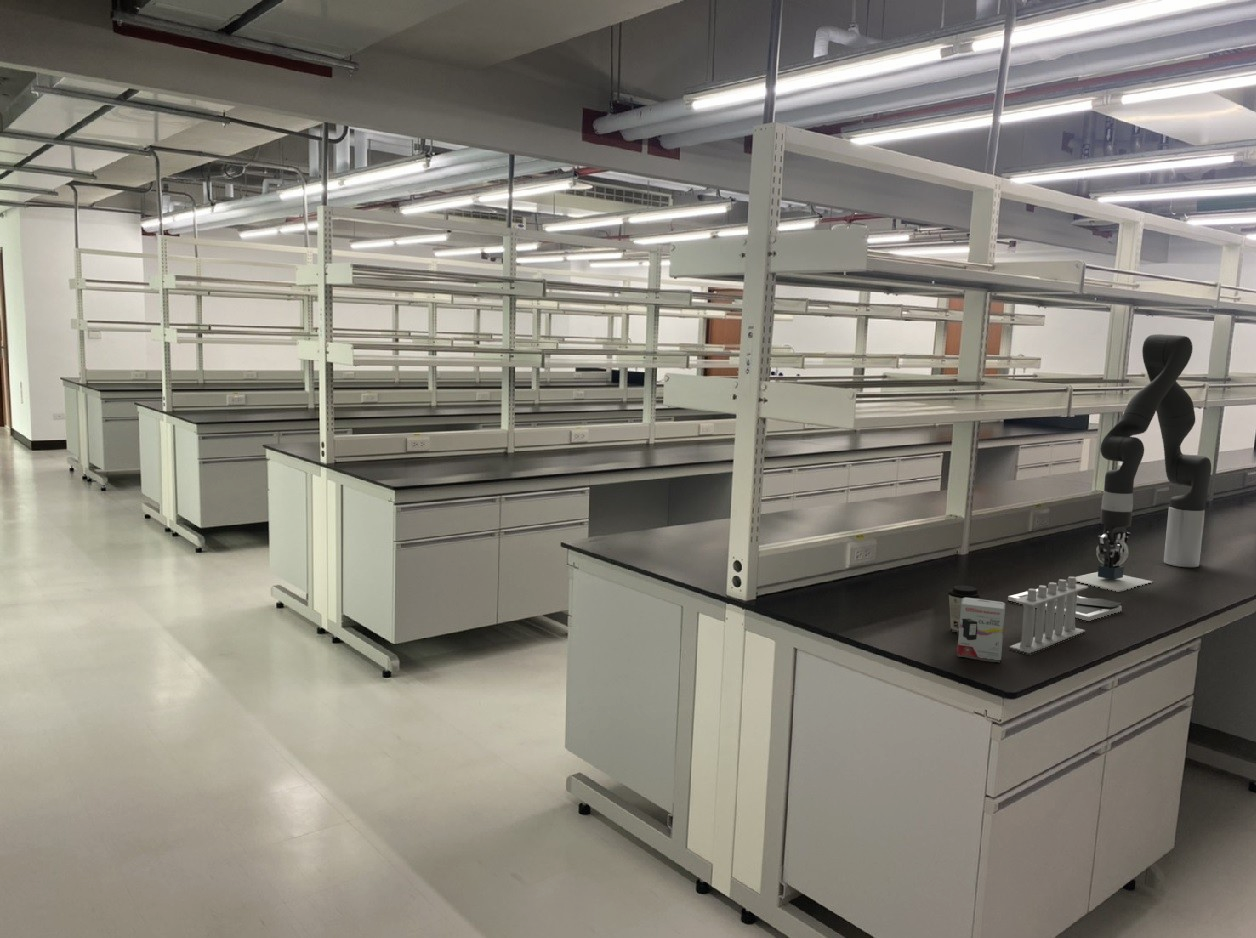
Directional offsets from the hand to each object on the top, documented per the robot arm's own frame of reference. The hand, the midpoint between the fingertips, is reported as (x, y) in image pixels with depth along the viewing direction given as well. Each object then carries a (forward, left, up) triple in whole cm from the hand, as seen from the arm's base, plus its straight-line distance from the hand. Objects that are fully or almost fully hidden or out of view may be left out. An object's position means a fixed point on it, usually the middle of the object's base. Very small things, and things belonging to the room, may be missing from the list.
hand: (1111, 568), depth 250 cm
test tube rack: (+64, +20, -4) cm, 67 cm away
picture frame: (+35, +7, -5) cm, 36 cm away
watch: (0, 0, -3) cm, 3 cm away
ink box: (+86, +19, -4) cm, 88 cm away
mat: (0, 0, -4) cm, 4 cm away
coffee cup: (+74, +6, -4) cm, 74 cm away
